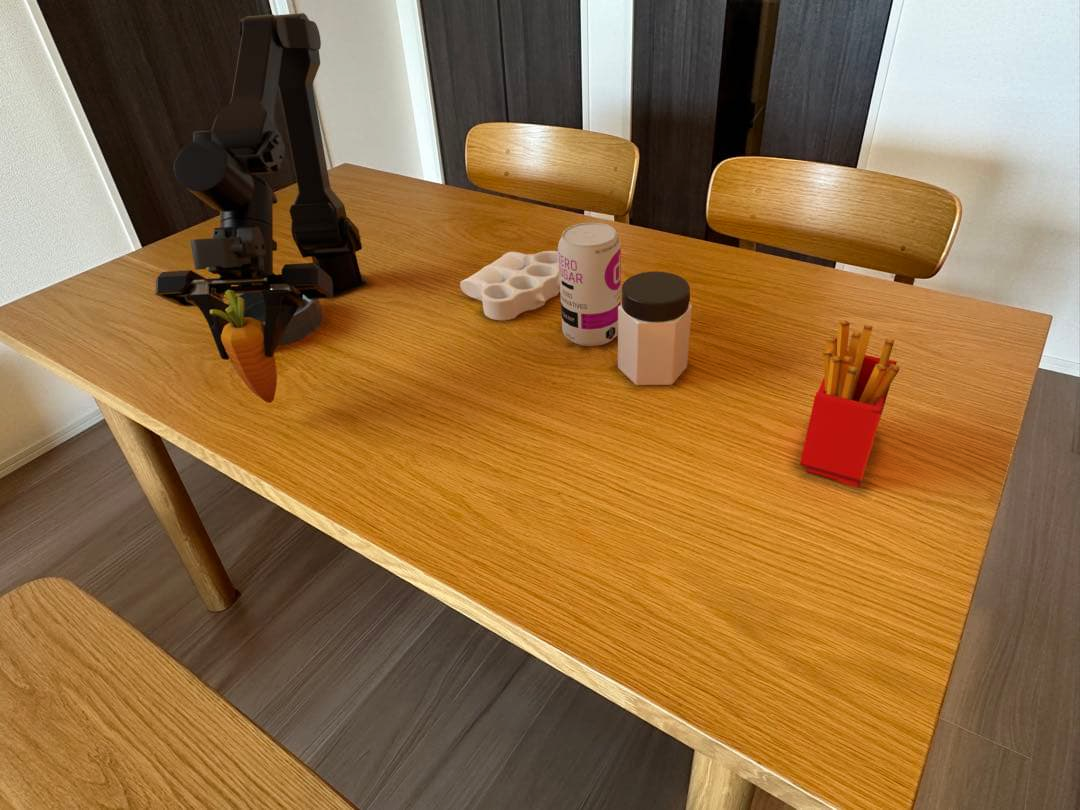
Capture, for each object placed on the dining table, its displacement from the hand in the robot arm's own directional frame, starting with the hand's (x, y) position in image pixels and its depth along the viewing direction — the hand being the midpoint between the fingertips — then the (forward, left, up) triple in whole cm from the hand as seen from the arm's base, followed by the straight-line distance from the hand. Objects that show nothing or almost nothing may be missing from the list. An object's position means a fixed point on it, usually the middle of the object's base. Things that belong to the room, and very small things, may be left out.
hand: (246, 358), depth 80 cm
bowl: (-10, -23, -10) cm, 27 cm away
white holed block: (-43, -6, -11) cm, 44 cm away
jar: (-43, +23, -11) cm, 50 cm away
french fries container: (-46, +48, -11) cm, 67 cm away
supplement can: (-43, +11, -11) cm, 45 cm away
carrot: (-1, -1, -8) cm, 8 cm away
